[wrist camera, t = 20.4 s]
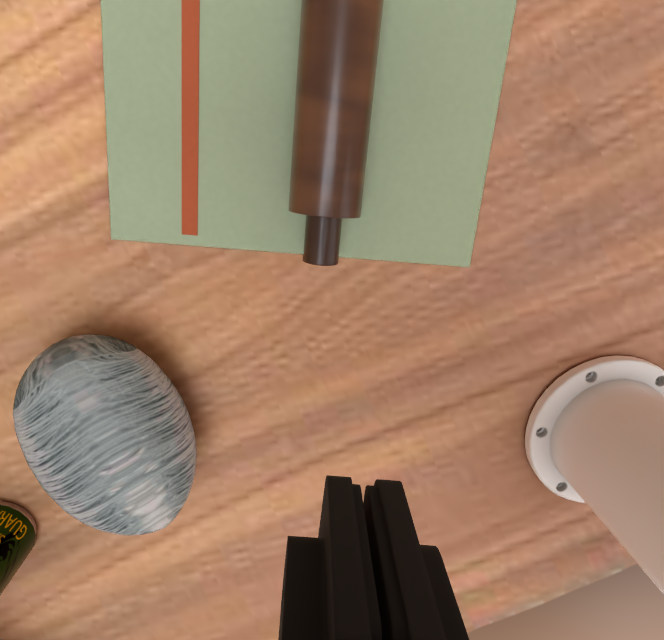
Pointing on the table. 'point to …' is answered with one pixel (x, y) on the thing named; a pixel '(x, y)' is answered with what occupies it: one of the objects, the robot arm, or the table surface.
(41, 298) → the table surface
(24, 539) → the green soda can
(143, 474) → the grey streaked stone
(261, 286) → the table surface
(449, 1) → the baking mat
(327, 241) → the rolling pin
